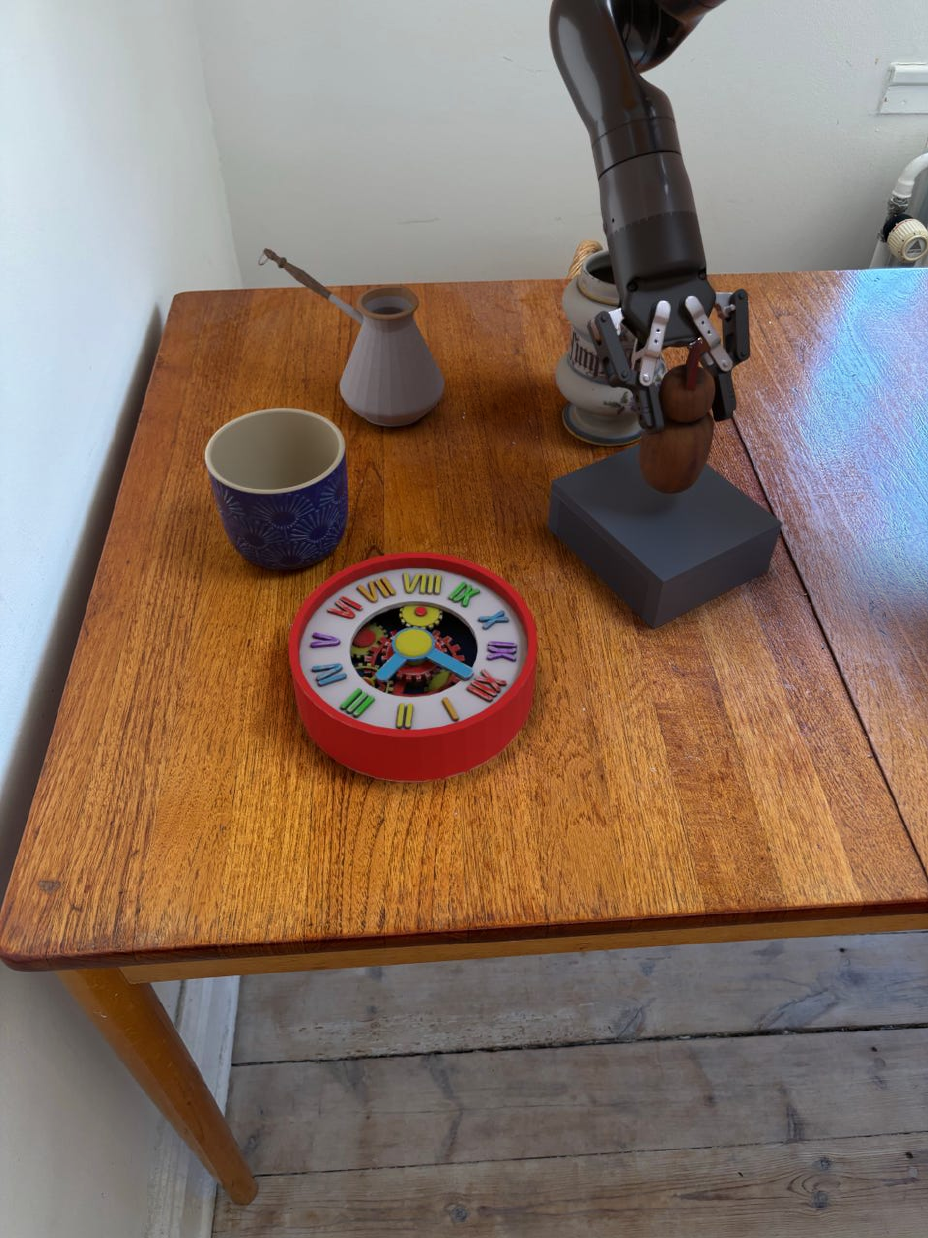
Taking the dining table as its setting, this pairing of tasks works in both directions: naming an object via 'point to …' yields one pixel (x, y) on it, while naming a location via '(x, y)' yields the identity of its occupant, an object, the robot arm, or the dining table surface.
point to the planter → (280, 486)
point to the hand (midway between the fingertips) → (690, 425)
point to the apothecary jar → (596, 362)
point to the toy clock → (413, 666)
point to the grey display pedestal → (661, 535)
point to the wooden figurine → (680, 428)
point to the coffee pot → (382, 354)
